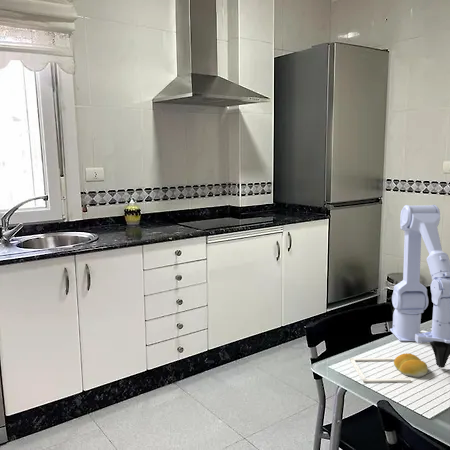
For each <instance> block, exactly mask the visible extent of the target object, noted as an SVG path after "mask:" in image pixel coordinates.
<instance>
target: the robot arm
mask: <svg viewBox="0 0 450 450" xmlns="http://www.w3.org/2000/svg"><path fill="white" fill-rule="evenodd" d="M399 218H400V219H399V221H400V222H399V224H400V230H401V231H404V235H403V236H404V241H403V243H404V244H403V245H404V246H403V266H402V267H403V268H402V269H403V270H402V271H403V272H402V277H403V278H402V280H401V281H400V282H398V283H397V284H395V285H394V286H393V292H392V295H391V303H392V307H393V308H394V311H393V314H392V328H389V331H390V332H391V333H392V334H393V335H394V336H395V337H396V338H397V340H398V341H400V342H416V343H417V344H422V343H429V344H430V346H431V349H432V351H433V354H434V357H435V359H434V360H435V363H436V366H438V368H443V369H444V368H446V364H447V362H448V359H449V357H450V257H449V254H448V253H447V252H444V251H443V249H442V248H443V247H442V244H441V239H440V234H439V229H438V227H439V224H440V220H441V211H440V209H439V207H438V206H437V205H436V204H430V205H429V204H426V205H424V204H422V205H421V204H419V205H417V204H416V205H413V204H412V205H409V204H405V205H404V206H403V207H402V209H401V211H400V217H399ZM422 240H423V243H424V245H425V248H426V250H427V252H428V256H427V257H426V259H425V260H426V263H427V266H428V270H429V274H430V276H431V283H430V285H429V286H430V293H431V302H432V303H433V307H432V321H431V331H426V332H422V333H421V321H422V320H421V319H422V314H423V313H424V312H425V310H426V309H427V308H428V306H429V296H428V289H427V287H426V286H425V285H424V284H422V283H421V282H420V280H421V256H422V255H421V254H422V253H421V251H422Z"/></svg>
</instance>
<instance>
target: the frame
mask: <svg viewBox="0 0 450 450" xmlns="http://www.w3.org/2000/svg"><path fill="white" fill-rule="evenodd" d="M349 361H350V363H351V365H352V366H353V367H354V369H355V371H356V372H357V374H358V376H359V377H360V379H361V381H362V382H363V384H366V383H371V384H372V383H411V382H412V380H411V379H410V378H409V377H405V378H402V377H399V378H395V377H394V378H367V377H366V376H365V375H364V372H363V371H362V370H361V368H360V367H359V364H358V363H357V362H394V358H393V357H352V358H351V357H350V358H349Z"/></svg>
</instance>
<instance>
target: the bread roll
mask: <svg viewBox="0 0 450 450" xmlns="http://www.w3.org/2000/svg"><path fill="white" fill-rule="evenodd" d="M393 364H394V367H395V369H397V370H398V371H399V372H400V373H401V374H402V375H405V376H408V377H412V376H413V378H422V377H424V376H426V375H427V373H428V370H429V368H428V365H427V363H426V362H425V361H424V360H423V361H422V360H421V359H420V358H419V357H418V356H417V355H415V354H412V353H408V352H407V353H402V354H400V355H397V356H396V357H395V358H394V359H393Z"/></svg>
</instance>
